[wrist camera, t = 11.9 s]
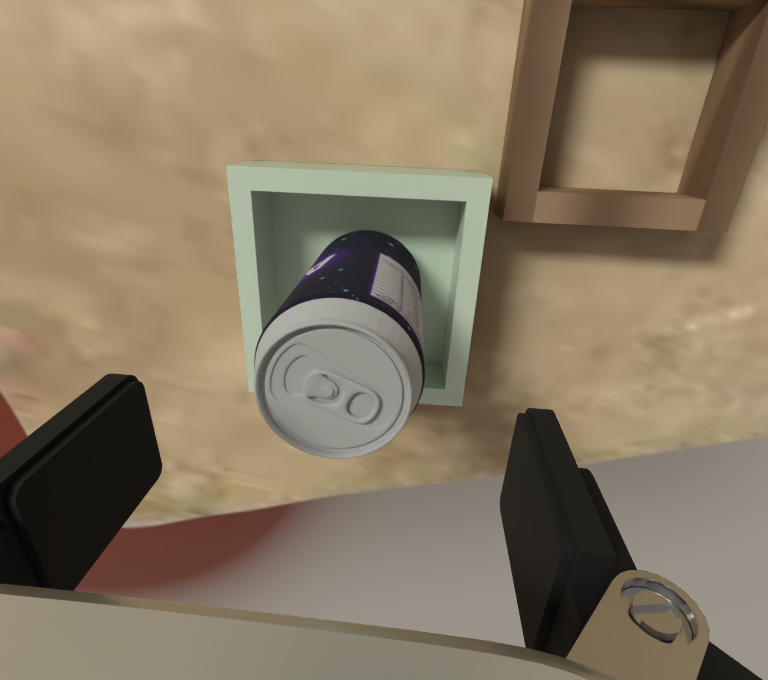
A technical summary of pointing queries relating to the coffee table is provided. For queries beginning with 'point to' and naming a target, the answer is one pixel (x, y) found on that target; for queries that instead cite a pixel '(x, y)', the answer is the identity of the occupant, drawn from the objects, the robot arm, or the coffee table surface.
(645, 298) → the coffee table surface
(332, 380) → the beverage can
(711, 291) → the coffee table surface
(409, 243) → the tray
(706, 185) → the socket block
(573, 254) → the coffee table surface
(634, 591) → the robot arm
